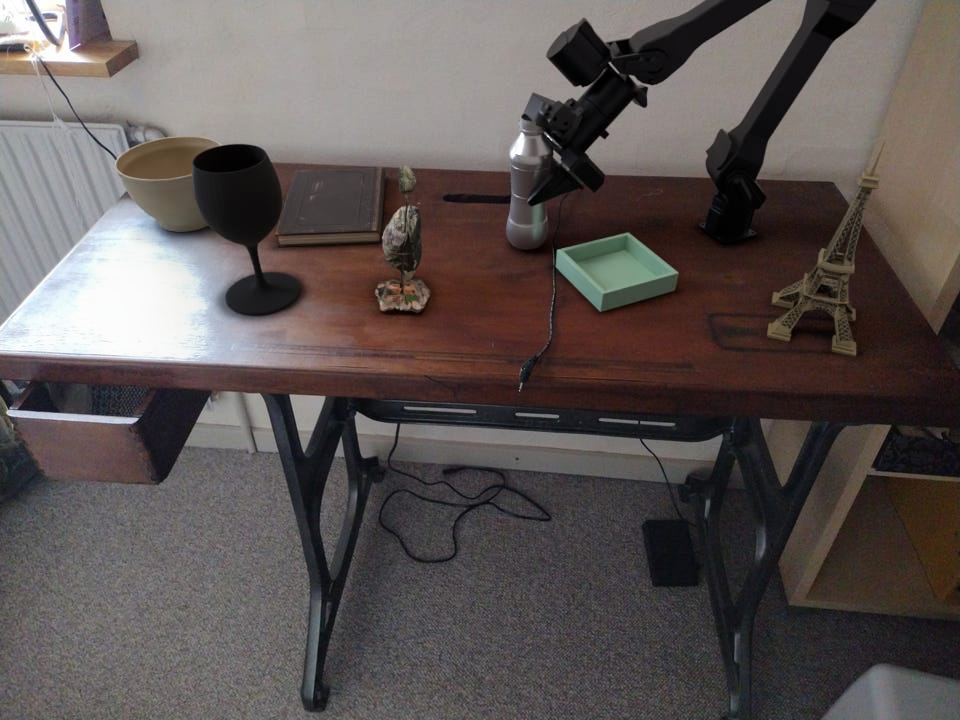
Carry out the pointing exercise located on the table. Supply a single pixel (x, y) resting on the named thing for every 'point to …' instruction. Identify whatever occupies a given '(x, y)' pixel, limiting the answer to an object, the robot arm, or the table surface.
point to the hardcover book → (333, 207)
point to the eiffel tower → (833, 266)
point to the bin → (616, 271)
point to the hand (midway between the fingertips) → (520, 194)
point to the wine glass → (244, 219)
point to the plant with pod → (403, 254)
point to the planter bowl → (165, 179)
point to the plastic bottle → (528, 185)
